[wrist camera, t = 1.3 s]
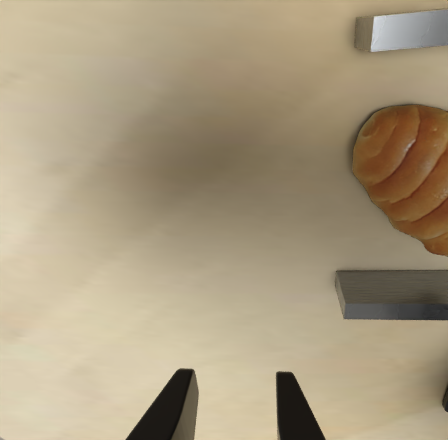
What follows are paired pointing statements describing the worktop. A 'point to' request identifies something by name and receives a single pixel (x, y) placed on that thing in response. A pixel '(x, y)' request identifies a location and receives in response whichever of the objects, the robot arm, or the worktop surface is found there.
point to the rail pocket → (396, 280)
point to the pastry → (407, 170)
